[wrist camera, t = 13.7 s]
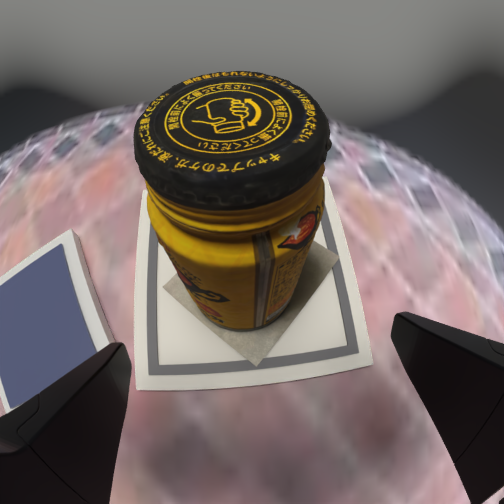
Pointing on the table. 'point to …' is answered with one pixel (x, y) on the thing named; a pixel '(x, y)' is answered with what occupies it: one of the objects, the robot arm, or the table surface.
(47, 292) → the ink pad
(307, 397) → the table surface
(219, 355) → the marked board
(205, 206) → the condiment
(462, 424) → the robot arm
